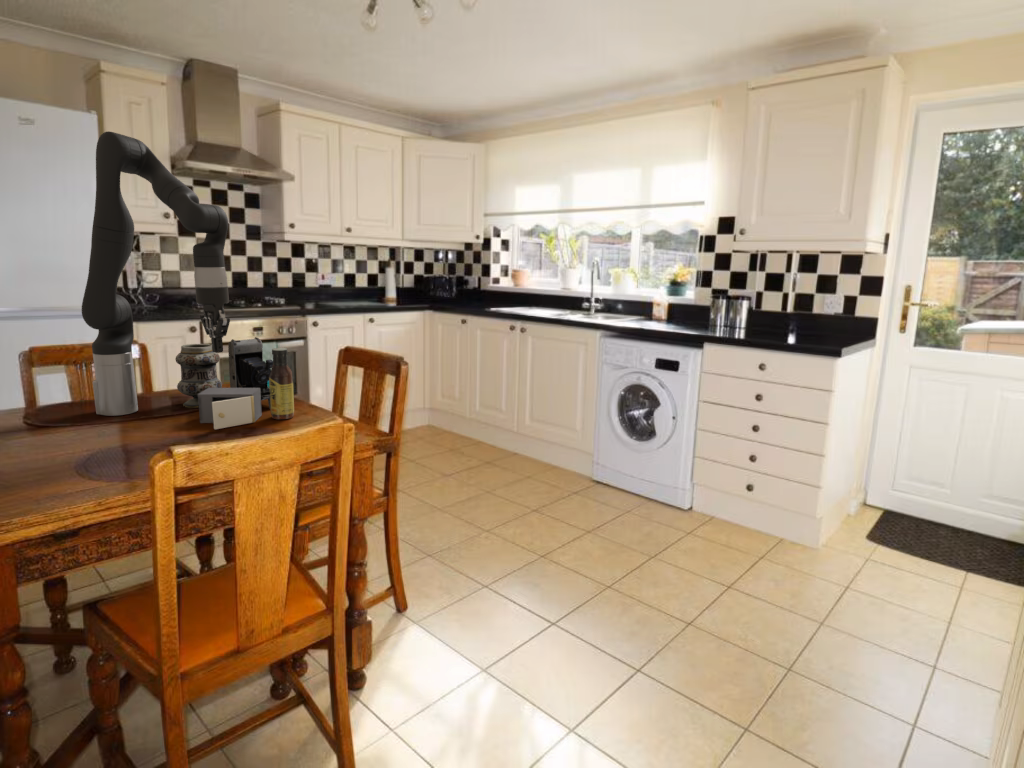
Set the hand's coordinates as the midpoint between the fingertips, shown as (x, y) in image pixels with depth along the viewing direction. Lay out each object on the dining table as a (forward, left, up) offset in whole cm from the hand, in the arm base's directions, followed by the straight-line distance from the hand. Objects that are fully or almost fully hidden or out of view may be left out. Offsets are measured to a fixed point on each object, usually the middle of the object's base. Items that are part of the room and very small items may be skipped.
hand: (217, 352), depth 159 cm
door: (+4, -2, -20) cm, 20 cm away
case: (0, +7, -20) cm, 21 cm away
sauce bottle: (+14, +8, -20) cm, 25 cm away
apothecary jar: (-14, +24, -20) cm, 34 cm away
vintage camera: (+3, +23, -20) cm, 30 cm away
